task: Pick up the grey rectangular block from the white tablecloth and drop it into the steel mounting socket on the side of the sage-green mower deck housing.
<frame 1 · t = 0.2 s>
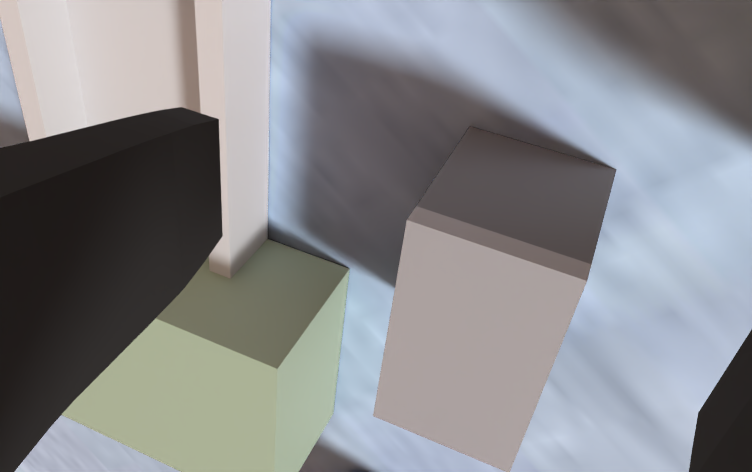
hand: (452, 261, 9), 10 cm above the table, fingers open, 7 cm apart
grey rectangular block: (511, 246, 20), on the table
deck housing: (183, 285, 28), on the table
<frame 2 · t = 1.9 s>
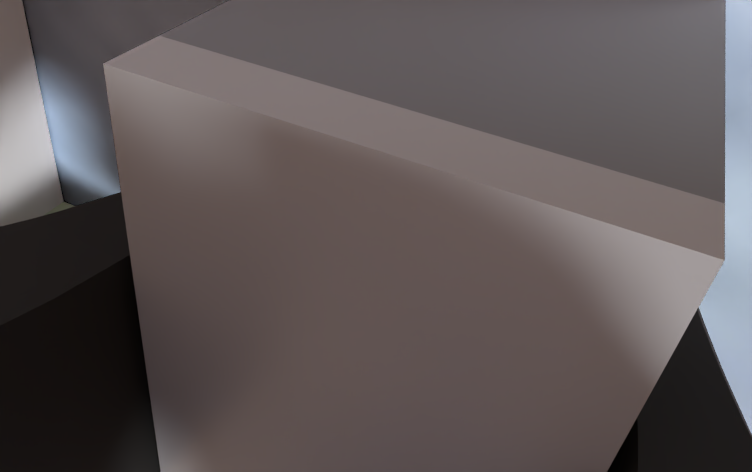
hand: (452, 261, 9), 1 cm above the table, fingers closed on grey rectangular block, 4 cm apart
grey rectangular block: (481, 205, 10), on the table, touching gripper
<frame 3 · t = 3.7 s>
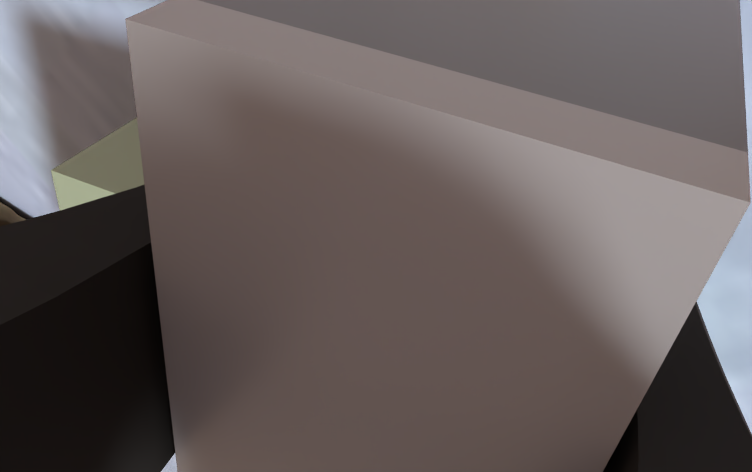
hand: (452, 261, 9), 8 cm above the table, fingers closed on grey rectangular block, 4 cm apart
grey rectangular block: (491, 185, 10), point 7 cm above the table, touching gripper
deck housing: (375, 270, 21), on the table
condiment: (41, 277, 29), on the table
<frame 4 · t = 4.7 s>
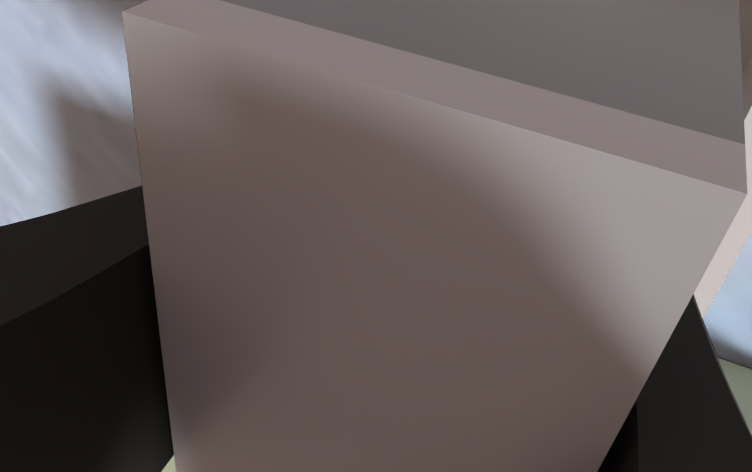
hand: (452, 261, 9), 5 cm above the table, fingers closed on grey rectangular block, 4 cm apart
grey rectangular block: (490, 182, 10), point 4 cm above the table, touching gripper
deck housing: (457, 389, 18), on the table
when the fingers open (3 cm above the table, at t = 5.6 s): grey rectangular block stays where it is, resting on deck housing.
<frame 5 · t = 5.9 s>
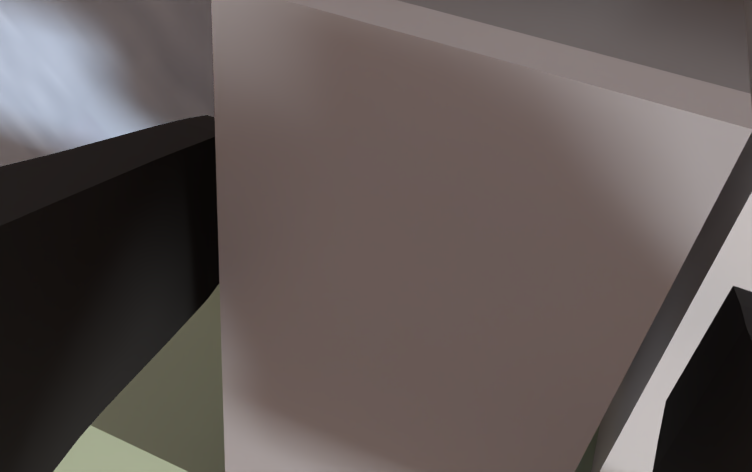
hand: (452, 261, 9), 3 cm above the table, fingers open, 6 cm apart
grey rectangular block: (508, 155, 11), point 1 cm above the table, touching deck housing
deck housing: (429, 454, 17), on the table
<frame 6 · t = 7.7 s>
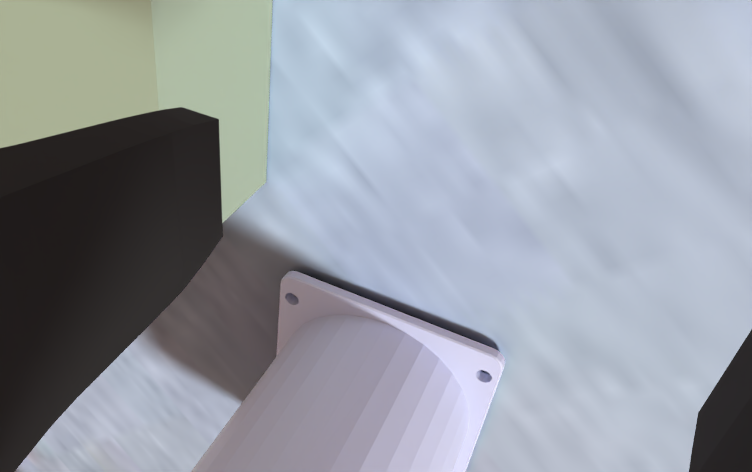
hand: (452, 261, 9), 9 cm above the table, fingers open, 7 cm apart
deck housing: (71, 4, 21), on the table
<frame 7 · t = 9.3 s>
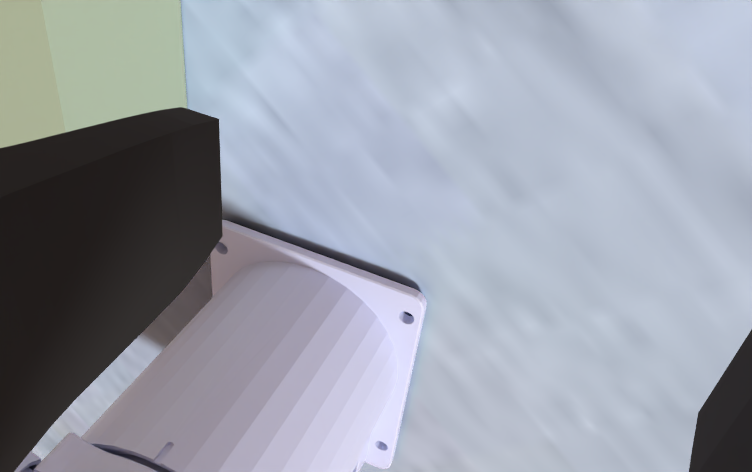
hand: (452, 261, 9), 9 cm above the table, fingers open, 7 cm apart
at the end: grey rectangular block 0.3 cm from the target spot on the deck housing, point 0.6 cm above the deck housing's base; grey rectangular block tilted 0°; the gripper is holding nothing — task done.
